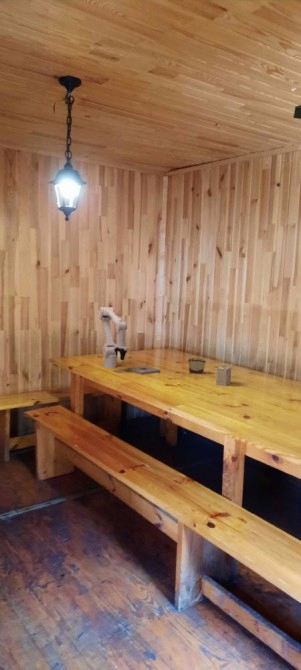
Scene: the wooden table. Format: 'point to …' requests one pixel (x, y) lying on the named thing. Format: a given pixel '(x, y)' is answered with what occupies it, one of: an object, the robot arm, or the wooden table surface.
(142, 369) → the hole plate
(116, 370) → the square grey metal plate
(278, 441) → the wooden table surface
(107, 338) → the robot arm
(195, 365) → the food container
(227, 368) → the light bulb box
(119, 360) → the peg
